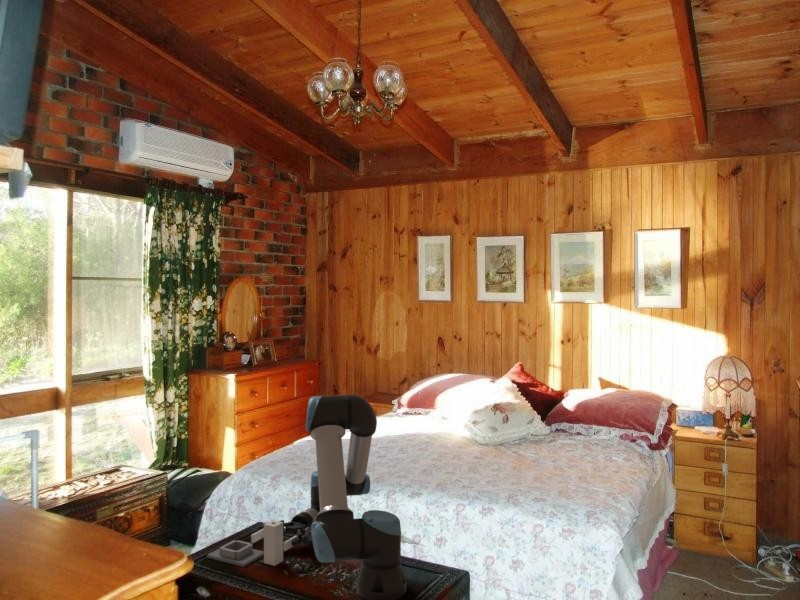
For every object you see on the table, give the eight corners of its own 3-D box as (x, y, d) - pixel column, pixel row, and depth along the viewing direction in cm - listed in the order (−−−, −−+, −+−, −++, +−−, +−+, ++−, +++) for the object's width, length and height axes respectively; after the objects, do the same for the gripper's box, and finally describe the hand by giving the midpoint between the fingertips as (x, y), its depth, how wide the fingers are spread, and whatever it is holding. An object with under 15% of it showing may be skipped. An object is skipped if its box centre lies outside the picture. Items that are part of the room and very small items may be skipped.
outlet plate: (265, 554, 220) (265, 544, 220) (243, 567, 210) (243, 556, 210) (229, 546, 227) (229, 536, 227) (207, 557, 217) (207, 547, 217)
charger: (283, 560, 215) (283, 521, 215) (274, 565, 211) (274, 526, 211) (272, 558, 217) (272, 519, 217) (263, 563, 213) (263, 523, 213)
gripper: (334, 538, 224) (298, 561, 206) (277, 526, 236) (238, 547, 217) (334, 517, 224) (298, 538, 205) (277, 506, 236) (238, 525, 217)
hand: (267, 542), depth 211 cm, fingers open, 13 cm apart
